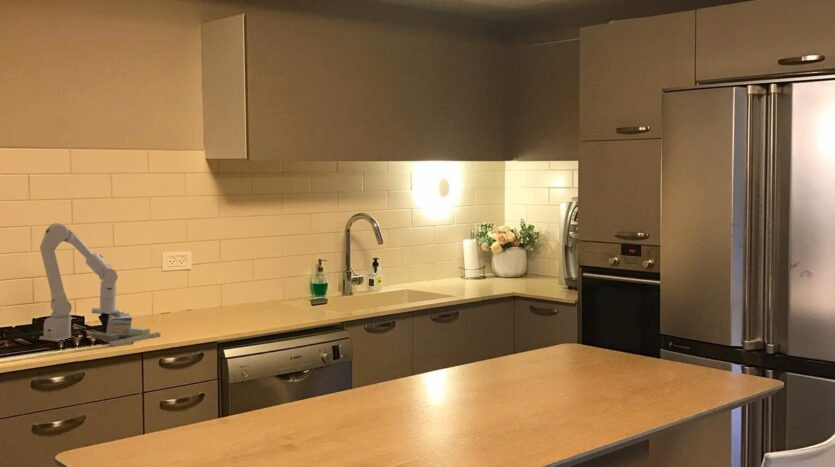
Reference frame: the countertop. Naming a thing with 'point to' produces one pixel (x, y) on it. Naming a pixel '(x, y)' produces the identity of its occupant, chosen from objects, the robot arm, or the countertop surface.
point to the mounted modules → (111, 337)
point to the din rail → (134, 339)
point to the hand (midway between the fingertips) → (107, 333)
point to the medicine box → (119, 325)
